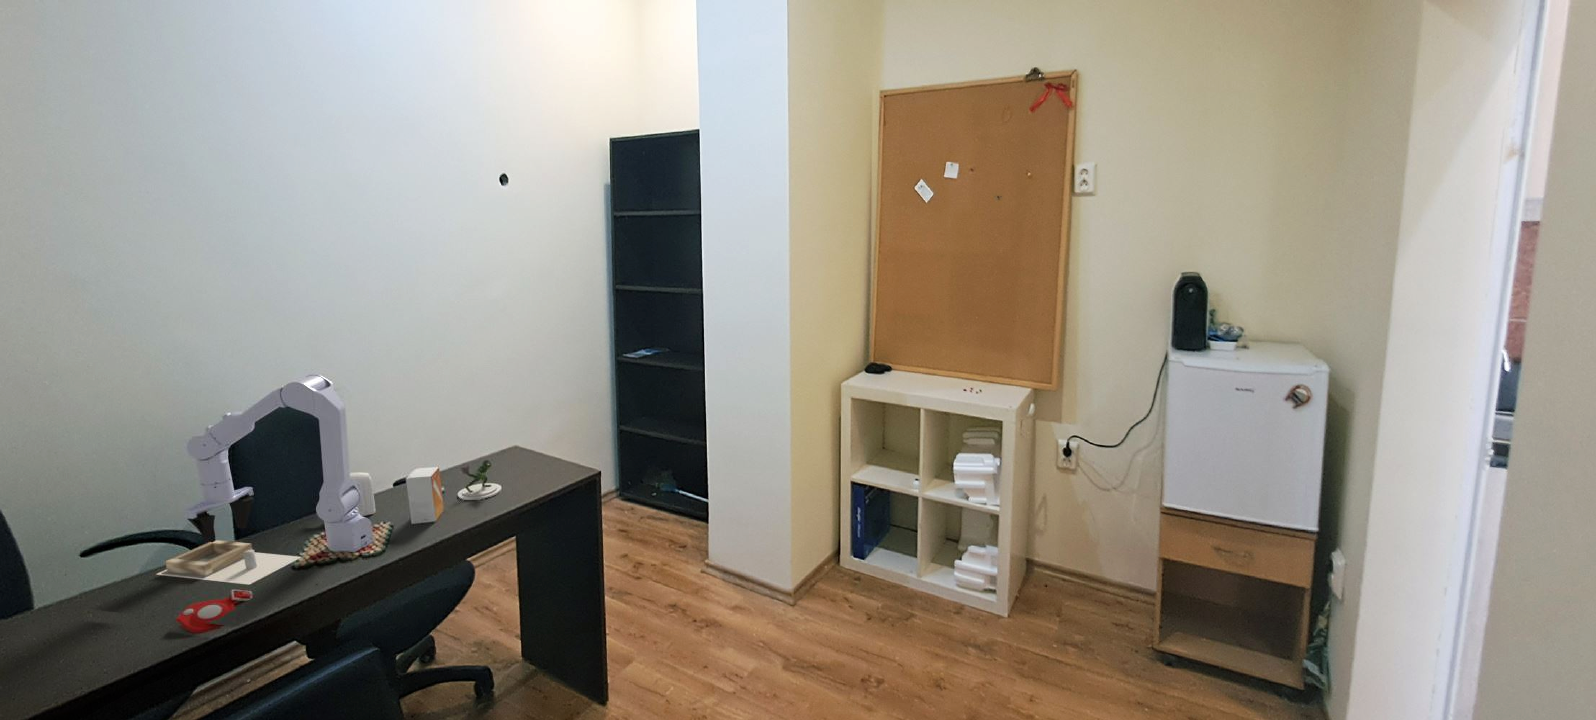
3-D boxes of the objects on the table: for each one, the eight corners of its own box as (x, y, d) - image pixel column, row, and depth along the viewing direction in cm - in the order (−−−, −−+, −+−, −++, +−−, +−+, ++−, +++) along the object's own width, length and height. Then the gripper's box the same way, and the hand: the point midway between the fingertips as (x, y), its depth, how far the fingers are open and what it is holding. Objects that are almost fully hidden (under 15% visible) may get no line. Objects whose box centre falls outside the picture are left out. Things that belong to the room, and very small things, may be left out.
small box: (436, 521, 187) (430, 476, 184) (411, 524, 185) (404, 478, 183) (444, 510, 194) (439, 466, 192) (420, 512, 193) (414, 468, 190)
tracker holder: (219, 628, 136) (162, 622, 134) (221, 645, 138) (165, 638, 136) (258, 585, 147) (206, 578, 146) (259, 600, 149) (208, 594, 147)
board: (302, 562, 165) (299, 541, 163) (250, 590, 152) (246, 567, 151) (214, 553, 170) (210, 533, 169) (157, 580, 157) (152, 558, 156)
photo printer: (375, 509, 196) (369, 467, 193) (376, 514, 192) (370, 472, 190) (332, 518, 190) (325, 475, 188) (332, 523, 186) (325, 480, 184)
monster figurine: (498, 498, 202) (495, 465, 200) (454, 503, 199) (450, 469, 197) (504, 483, 214) (500, 452, 212) (462, 488, 210) (458, 456, 208)
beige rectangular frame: (253, 553, 166) (251, 543, 166) (206, 575, 156) (204, 565, 155) (216, 549, 168) (214, 540, 168) (167, 571, 158) (165, 561, 157)
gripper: (232, 469, 171) (242, 520, 173) (169, 491, 157) (181, 546, 159) (256, 470, 169) (265, 522, 172) (194, 493, 155) (205, 549, 158)
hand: (226, 534), depth 165 cm, fingers open, 7 cm apart
